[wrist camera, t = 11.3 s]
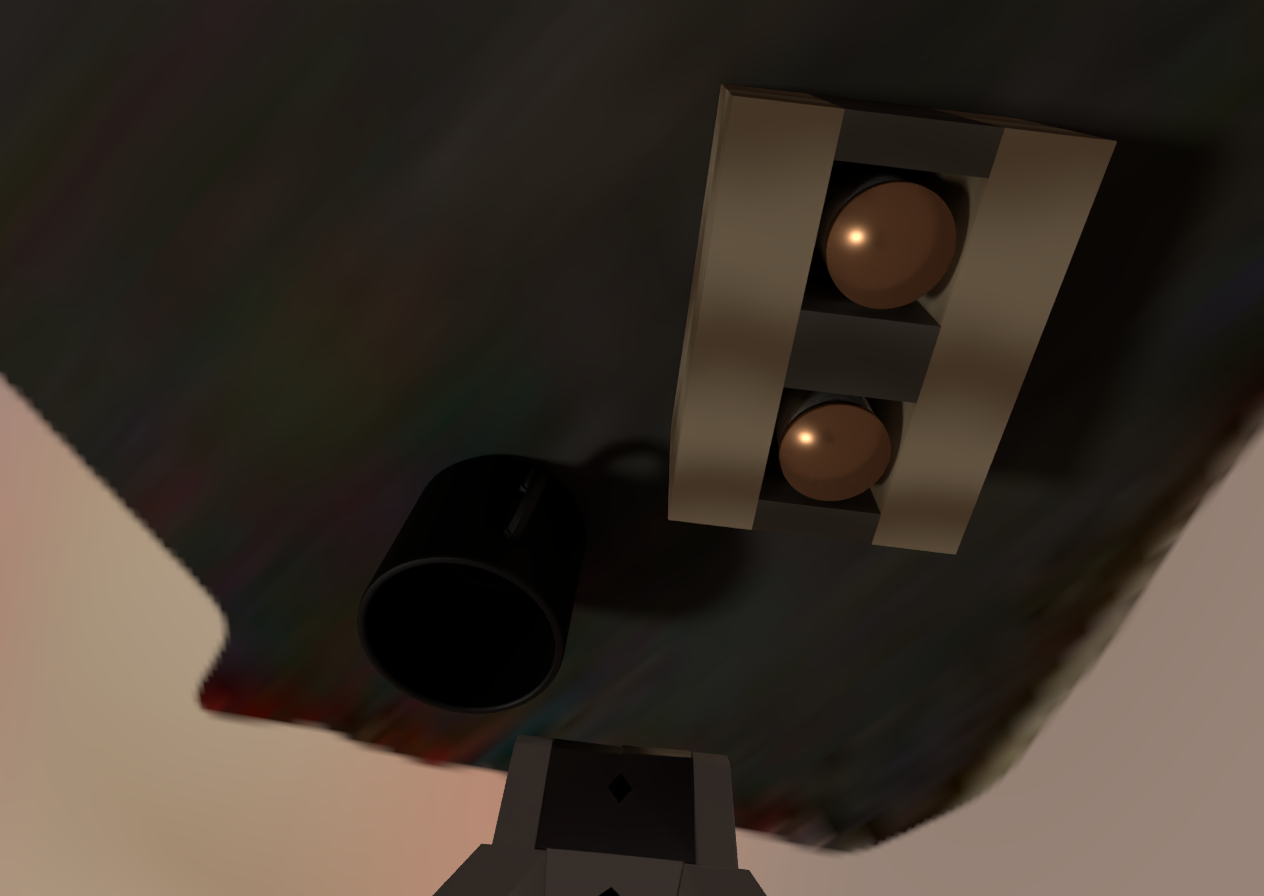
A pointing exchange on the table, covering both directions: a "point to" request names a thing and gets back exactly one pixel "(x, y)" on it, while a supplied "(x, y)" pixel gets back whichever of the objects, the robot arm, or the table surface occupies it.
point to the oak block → (867, 310)
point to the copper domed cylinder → (883, 235)
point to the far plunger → (830, 443)
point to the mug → (477, 588)
